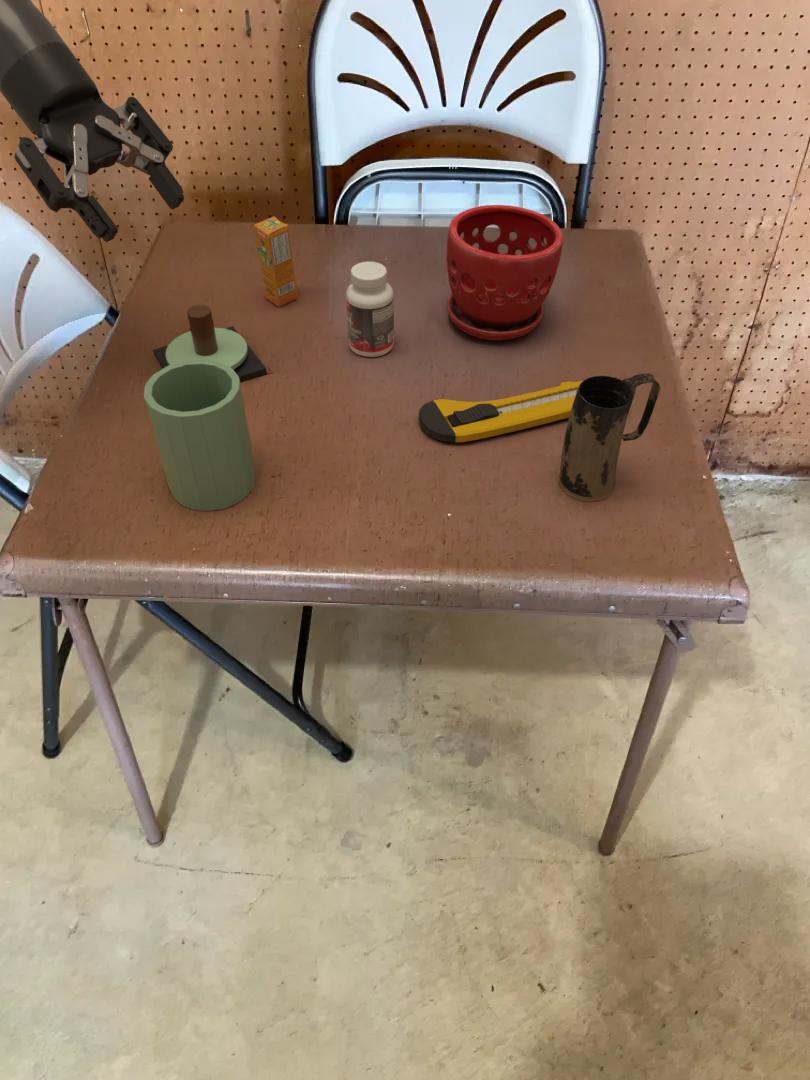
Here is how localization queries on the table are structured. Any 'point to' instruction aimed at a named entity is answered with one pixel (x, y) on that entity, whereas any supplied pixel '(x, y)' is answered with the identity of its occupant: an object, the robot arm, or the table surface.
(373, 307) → the pill bottle
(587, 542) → the table surface
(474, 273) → the flower pot
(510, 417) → the utility knife
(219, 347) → the stopper
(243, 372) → the mat
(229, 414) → the canister
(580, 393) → the mug
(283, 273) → the supplement box
